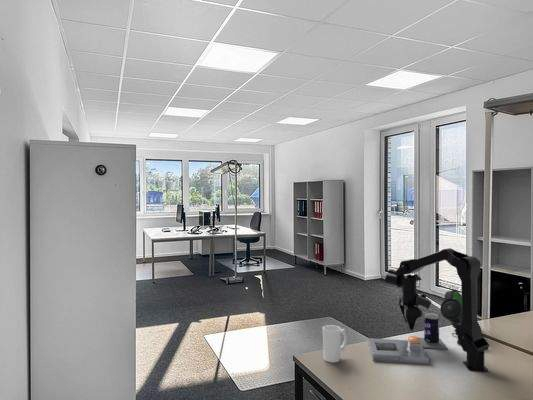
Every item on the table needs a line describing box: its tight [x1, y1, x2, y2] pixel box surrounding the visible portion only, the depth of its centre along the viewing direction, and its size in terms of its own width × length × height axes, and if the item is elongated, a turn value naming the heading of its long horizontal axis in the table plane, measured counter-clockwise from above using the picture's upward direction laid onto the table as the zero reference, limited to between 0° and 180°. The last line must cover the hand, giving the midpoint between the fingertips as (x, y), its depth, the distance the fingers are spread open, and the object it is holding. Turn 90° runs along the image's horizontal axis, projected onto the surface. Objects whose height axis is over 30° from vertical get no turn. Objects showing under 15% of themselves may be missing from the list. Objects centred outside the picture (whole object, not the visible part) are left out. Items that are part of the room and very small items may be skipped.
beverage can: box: [423, 312, 440, 345], centre depth 157 cm, size 6×6×12 cm
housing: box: [368, 337, 430, 365], centre depth 148 cm, size 16×20×5 cm
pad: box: [419, 337, 449, 351], centre depth 157 cm, size 10×10×1 cm
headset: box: [439, 289, 462, 345], centre depth 167 cm, size 18×14×29 cm
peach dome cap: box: [407, 335, 421, 344], centre depth 147 cm, size 4×4×3 cm
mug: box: [322, 324, 348, 364], centre depth 144 cm, size 10×7×12 cm, turn 109°
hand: (409, 326), depth 159 cm, fingers open, 9 cm apart
